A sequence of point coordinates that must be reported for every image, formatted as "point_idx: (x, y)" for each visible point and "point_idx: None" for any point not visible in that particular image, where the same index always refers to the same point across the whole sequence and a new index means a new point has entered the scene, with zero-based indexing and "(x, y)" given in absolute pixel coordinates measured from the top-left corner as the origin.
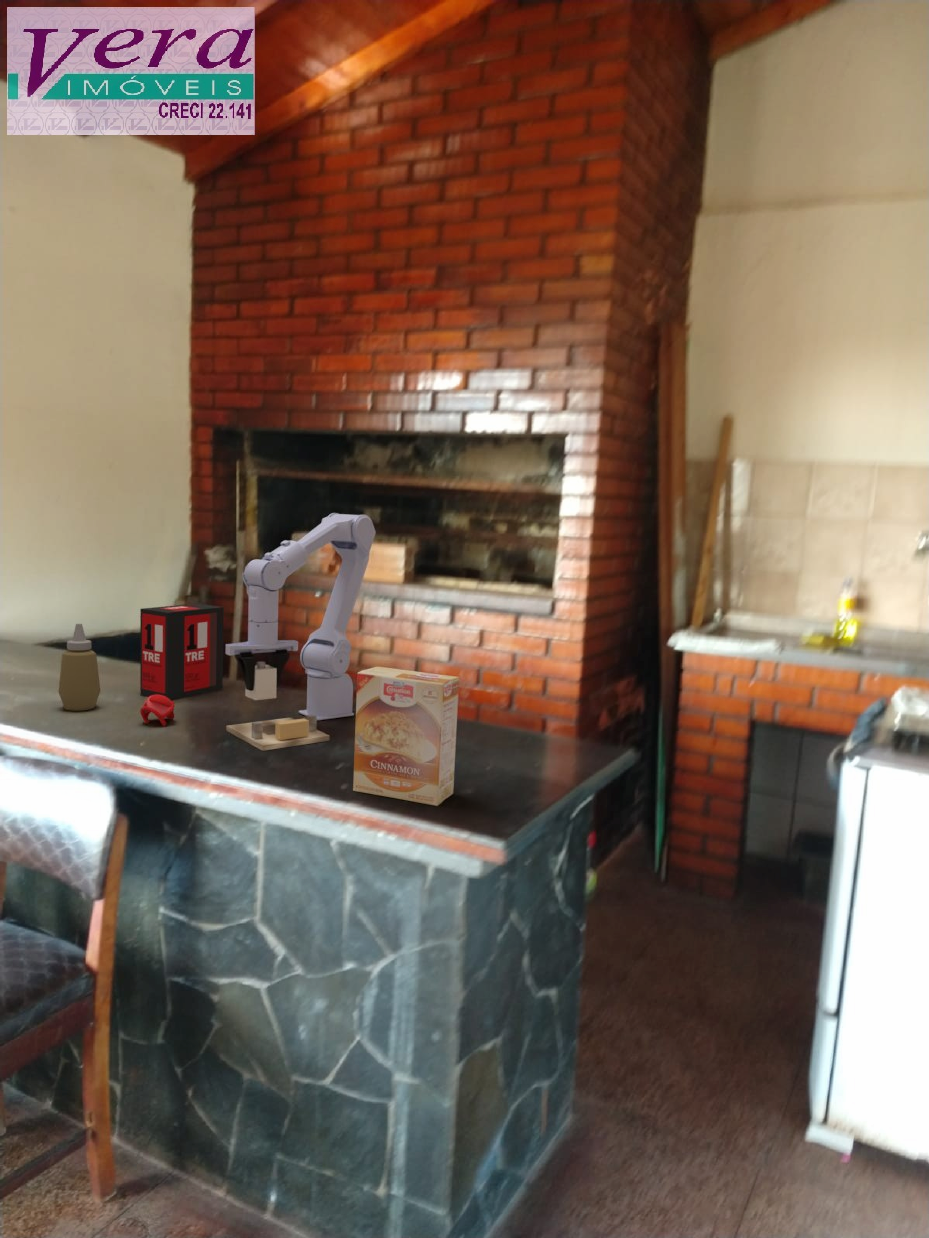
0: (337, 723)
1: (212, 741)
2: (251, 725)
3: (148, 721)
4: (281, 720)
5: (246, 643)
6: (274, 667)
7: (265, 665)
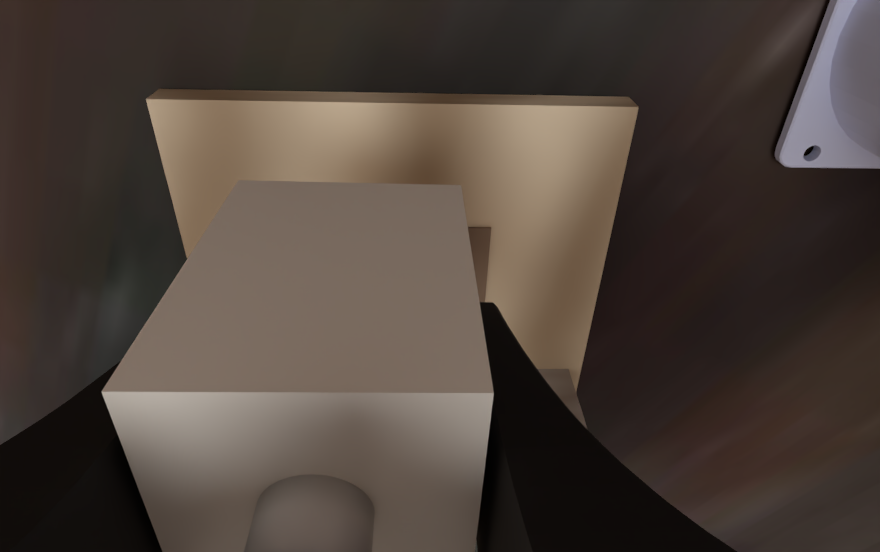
0: (817, 249)
1: (46, 254)
2: (309, 171)
3: None
4: (540, 149)
5: None
6: (487, 544)
7: (445, 429)
